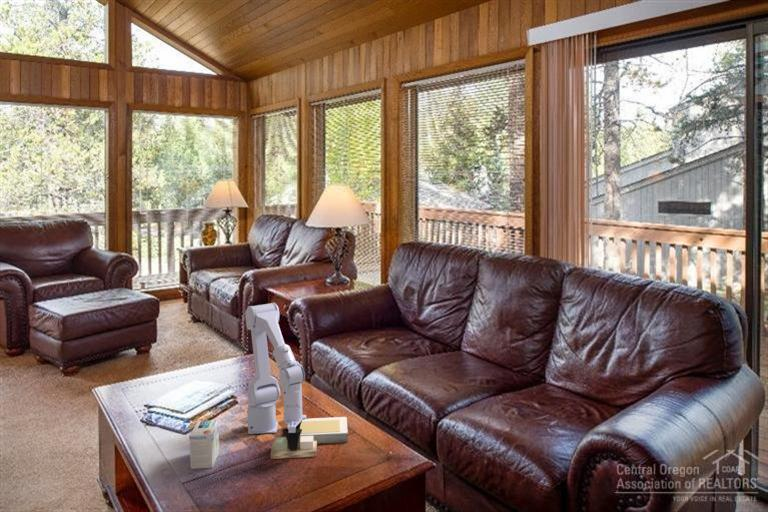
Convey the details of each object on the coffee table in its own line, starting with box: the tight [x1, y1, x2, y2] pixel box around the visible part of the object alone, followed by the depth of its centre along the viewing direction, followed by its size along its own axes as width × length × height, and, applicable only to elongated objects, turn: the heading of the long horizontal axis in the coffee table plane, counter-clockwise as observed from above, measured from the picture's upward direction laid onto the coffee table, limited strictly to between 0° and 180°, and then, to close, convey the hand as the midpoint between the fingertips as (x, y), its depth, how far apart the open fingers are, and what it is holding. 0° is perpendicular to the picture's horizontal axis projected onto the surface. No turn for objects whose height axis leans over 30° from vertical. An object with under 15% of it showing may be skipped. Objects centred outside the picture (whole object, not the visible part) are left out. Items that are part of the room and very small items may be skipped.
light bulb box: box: [188, 419, 220, 469], centre depth 177 cm, size 11×7×11 cm, turn 5°
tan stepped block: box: [270, 434, 318, 460], centre depth 182 cm, size 14×7×6 cm, turn 95°
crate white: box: [300, 436, 314, 450], centre depth 182 cm, size 4×4×2 cm
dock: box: [300, 416, 349, 445], centre depth 194 cm, size 20×14×3 cm
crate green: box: [273, 436, 287, 451], centre depth 181 cm, size 4×4×2 cm
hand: (294, 444), depth 182 cm, fingers open, 7 cm apart
